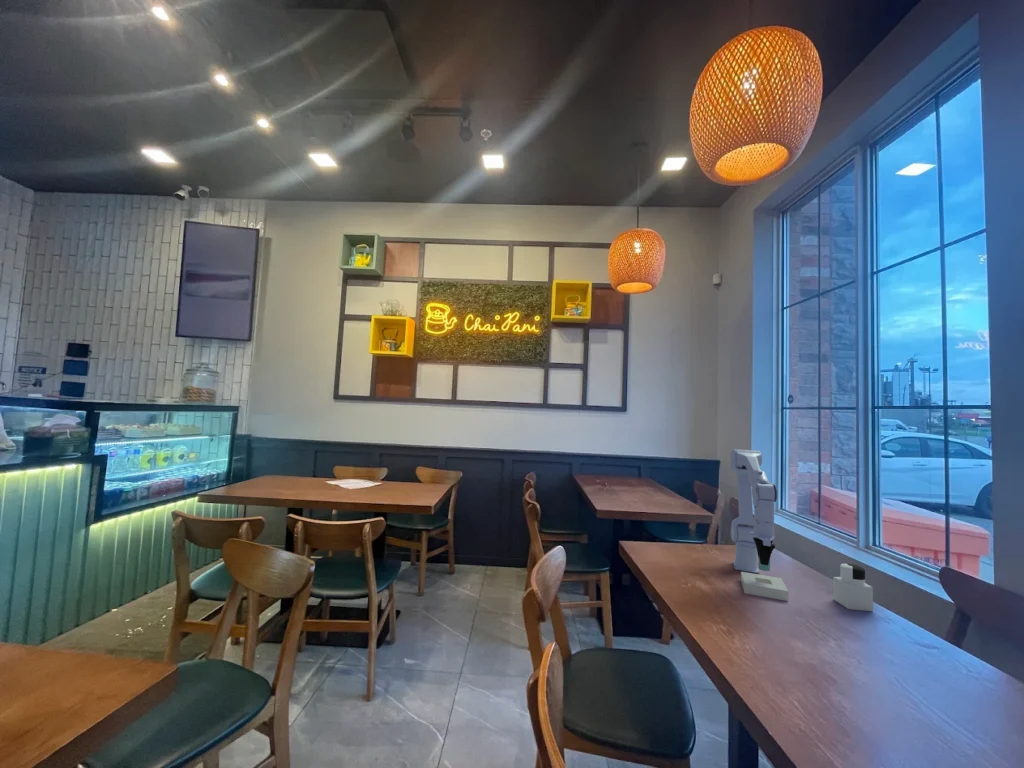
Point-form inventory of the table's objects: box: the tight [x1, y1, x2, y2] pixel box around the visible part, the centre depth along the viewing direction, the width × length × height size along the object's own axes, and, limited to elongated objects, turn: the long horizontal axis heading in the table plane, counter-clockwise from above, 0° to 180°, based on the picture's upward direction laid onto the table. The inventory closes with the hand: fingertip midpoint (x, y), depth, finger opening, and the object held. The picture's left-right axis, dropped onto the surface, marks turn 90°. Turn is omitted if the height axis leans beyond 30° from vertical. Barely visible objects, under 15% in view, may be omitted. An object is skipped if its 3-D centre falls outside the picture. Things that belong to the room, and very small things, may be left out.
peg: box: [758, 558, 771, 572], centre depth 141 cm, size 3×3×7 cm
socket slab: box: [740, 571, 789, 602], centre depth 141 cm, size 12×12×3 cm
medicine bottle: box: [832, 562, 874, 612], centre depth 133 cm, size 7×7×12 cm
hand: (763, 562), depth 141 cm, fingers closed on peg, 3 cm apart
